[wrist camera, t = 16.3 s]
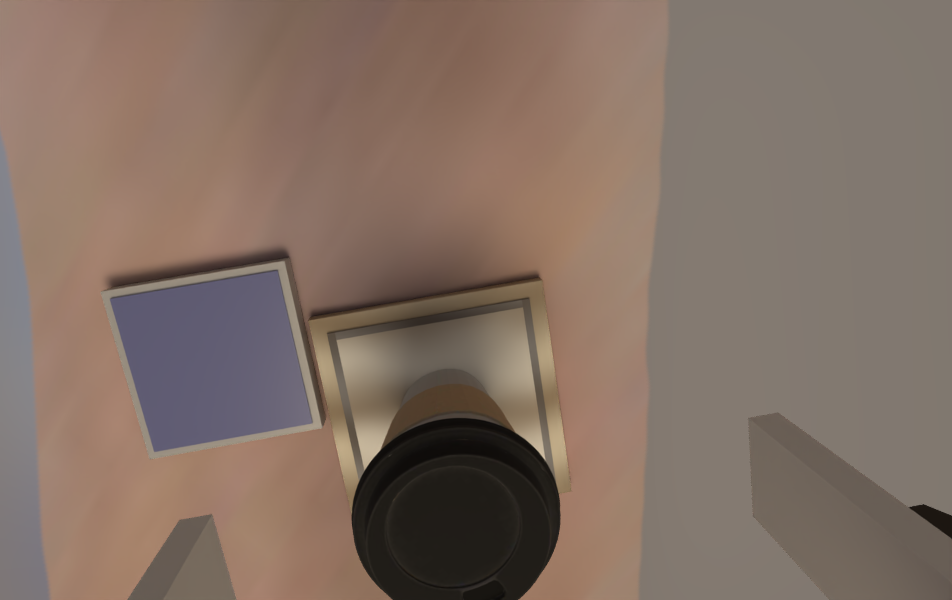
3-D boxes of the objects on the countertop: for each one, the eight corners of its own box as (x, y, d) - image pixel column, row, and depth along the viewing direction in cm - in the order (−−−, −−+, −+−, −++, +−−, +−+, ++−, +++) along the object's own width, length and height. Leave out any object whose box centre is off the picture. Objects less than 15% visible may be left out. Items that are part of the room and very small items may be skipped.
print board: (311, 316, 40) (307, 321, 39) (539, 277, 41) (542, 280, 40) (357, 524, 44) (355, 533, 42) (568, 484, 44) (572, 492, 43)
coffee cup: (453, 501, 42) (469, 676, 28) (343, 418, 41) (299, 557, 26) (547, 400, 42) (614, 525, 27) (439, 310, 40) (448, 391, 25)
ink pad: (112, 287, 39) (98, 292, 37) (289, 257, 39) (283, 261, 38) (159, 449, 41) (148, 460, 40) (325, 418, 42) (321, 429, 40)
